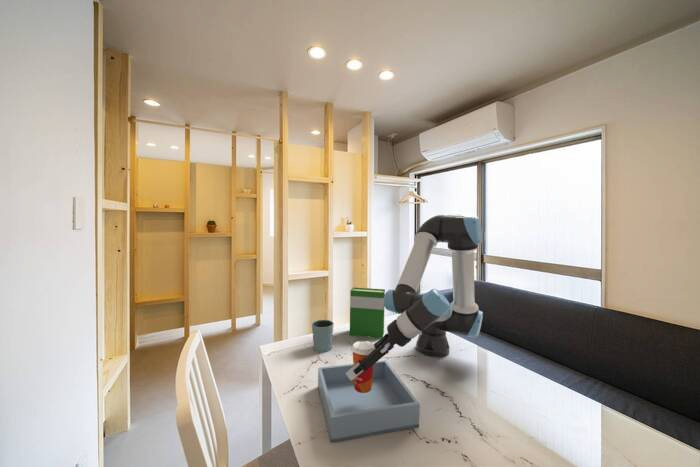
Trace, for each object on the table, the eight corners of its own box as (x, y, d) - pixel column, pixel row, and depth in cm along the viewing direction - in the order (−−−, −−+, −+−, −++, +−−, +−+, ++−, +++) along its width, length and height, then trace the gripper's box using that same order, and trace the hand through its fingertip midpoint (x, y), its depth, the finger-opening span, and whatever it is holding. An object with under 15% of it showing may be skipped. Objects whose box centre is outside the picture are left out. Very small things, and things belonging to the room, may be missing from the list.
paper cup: (350, 381, 91) (350, 340, 91) (372, 380, 92) (373, 339, 92) (352, 395, 83) (353, 351, 83) (376, 395, 84) (377, 350, 84)
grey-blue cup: (337, 347, 130) (337, 322, 129) (324, 355, 121) (324, 328, 121) (320, 342, 135) (320, 318, 135) (306, 349, 127) (307, 324, 126)
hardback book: (383, 332, 148) (384, 289, 148) (382, 338, 141) (384, 292, 140) (352, 330, 152) (352, 287, 151) (349, 335, 144) (350, 290, 144)
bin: (385, 378, 104) (386, 360, 104) (419, 427, 79) (419, 403, 79) (318, 386, 98) (318, 367, 97) (330, 443, 73) (331, 417, 72)
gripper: (407, 353, 72) (349, 398, 78) (416, 327, 91) (369, 365, 97) (388, 330, 74) (333, 376, 80) (401, 309, 93) (356, 347, 99)
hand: (353, 370), depth 89 cm, fingers closed on paper cup, 8 cm apart
